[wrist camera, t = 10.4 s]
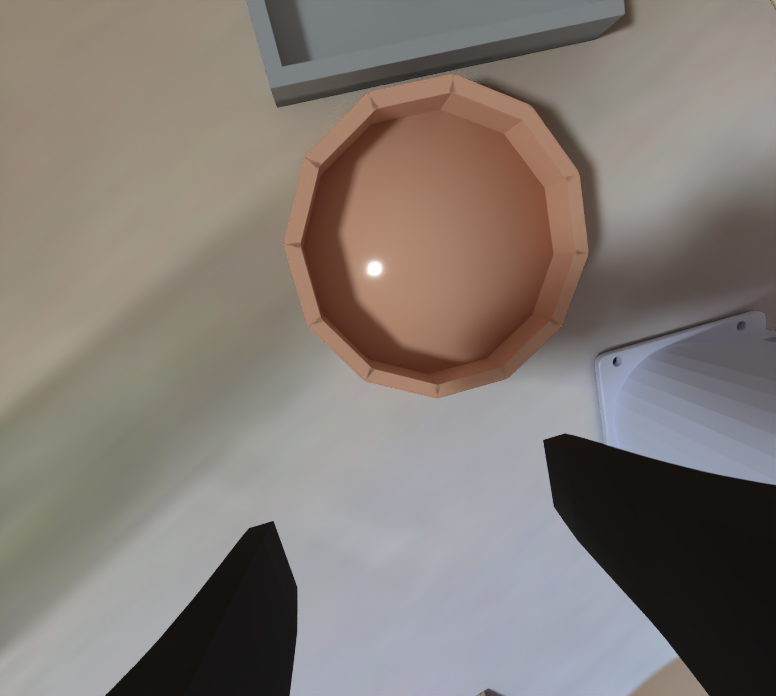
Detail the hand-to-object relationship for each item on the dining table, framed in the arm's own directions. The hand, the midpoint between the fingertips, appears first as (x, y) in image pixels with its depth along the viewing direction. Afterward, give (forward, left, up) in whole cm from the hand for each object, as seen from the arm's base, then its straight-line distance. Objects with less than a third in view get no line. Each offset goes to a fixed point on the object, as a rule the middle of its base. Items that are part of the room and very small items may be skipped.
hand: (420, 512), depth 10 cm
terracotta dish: (-4, -6, -9) cm, 12 cm away
